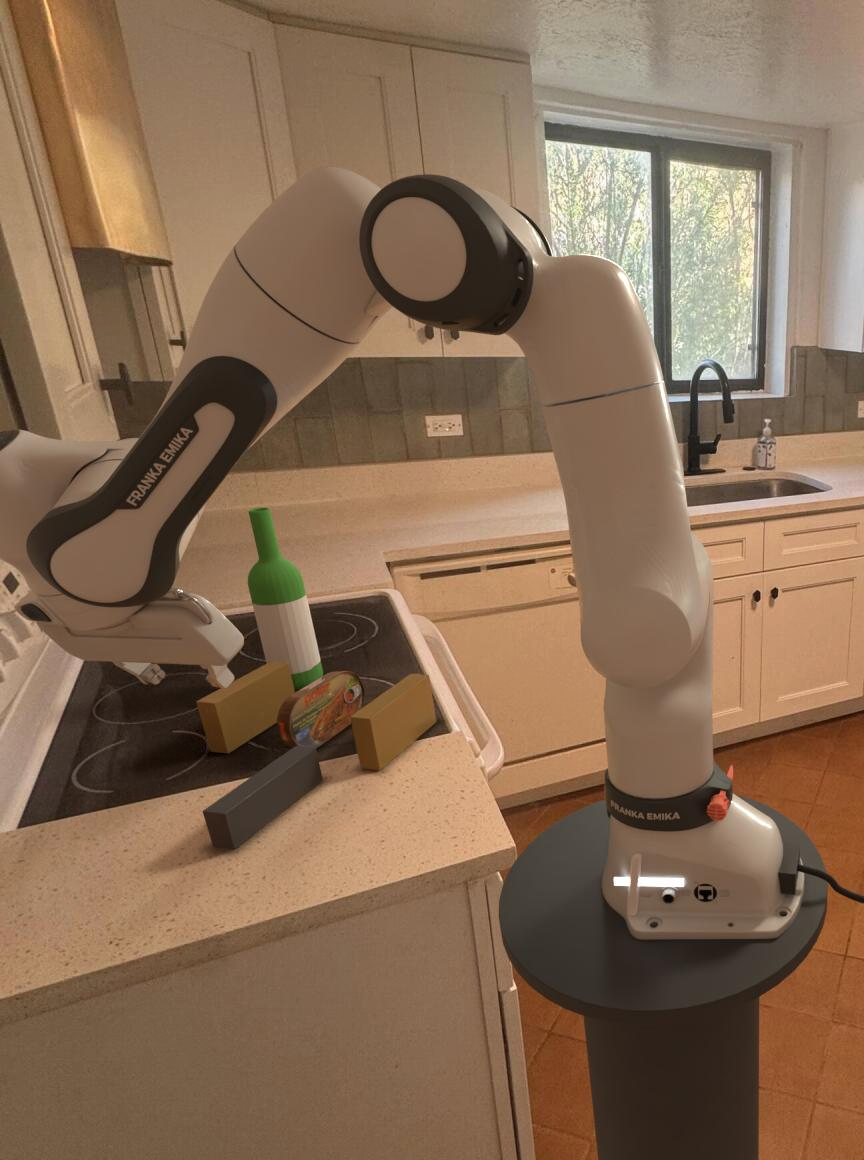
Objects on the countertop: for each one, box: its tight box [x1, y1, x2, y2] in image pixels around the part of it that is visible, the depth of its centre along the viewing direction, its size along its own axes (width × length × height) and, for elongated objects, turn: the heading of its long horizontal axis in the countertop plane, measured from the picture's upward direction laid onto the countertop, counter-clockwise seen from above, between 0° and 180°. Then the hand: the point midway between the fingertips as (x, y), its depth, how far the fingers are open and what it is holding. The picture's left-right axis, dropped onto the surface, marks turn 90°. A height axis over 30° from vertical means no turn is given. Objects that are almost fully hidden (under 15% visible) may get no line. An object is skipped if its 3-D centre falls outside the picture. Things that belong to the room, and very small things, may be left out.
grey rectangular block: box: [202, 746, 324, 851], centre depth 97 cm, size 3×15×5 cm, turn 169°
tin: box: [276, 670, 366, 749], centre depth 115 cm, size 15×3×8 cm, turn 167°
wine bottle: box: [247, 507, 324, 692], centre depth 127 cm, size 8×8×30 cm
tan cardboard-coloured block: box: [195, 661, 296, 754], centre depth 116 cm, size 3×14×8 cm, turn 169°
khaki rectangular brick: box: [350, 672, 437, 771], centre depth 112 cm, size 3×14×8 cm, turn 169°
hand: (190, 681), depth 87 cm, fingers open, 8 cm apart
